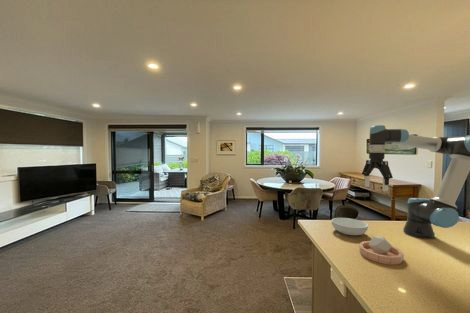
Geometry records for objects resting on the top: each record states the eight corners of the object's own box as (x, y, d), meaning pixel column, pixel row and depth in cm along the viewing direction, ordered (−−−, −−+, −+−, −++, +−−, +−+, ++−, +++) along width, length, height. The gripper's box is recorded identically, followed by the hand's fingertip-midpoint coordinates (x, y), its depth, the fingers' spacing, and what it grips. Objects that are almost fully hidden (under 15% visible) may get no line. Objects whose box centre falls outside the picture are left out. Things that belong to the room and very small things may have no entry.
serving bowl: (368, 231, 142) (368, 220, 142) (367, 242, 125) (367, 230, 124) (333, 225, 153) (333, 215, 153) (328, 234, 136) (328, 223, 136)
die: (391, 260, 103) (397, 241, 106) (373, 250, 104) (380, 231, 107) (379, 258, 111) (385, 241, 114) (363, 248, 112) (369, 231, 115)
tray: (381, 246, 119) (382, 240, 119) (412, 263, 101) (412, 256, 101) (351, 248, 117) (351, 241, 117) (377, 265, 99) (377, 258, 99)
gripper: (356, 152, 138) (355, 185, 138) (388, 152, 113) (387, 192, 113) (367, 152, 138) (366, 185, 139) (401, 152, 114) (400, 192, 114)
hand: (375, 188), depth 126 cm, fingers open, 13 cm apart
